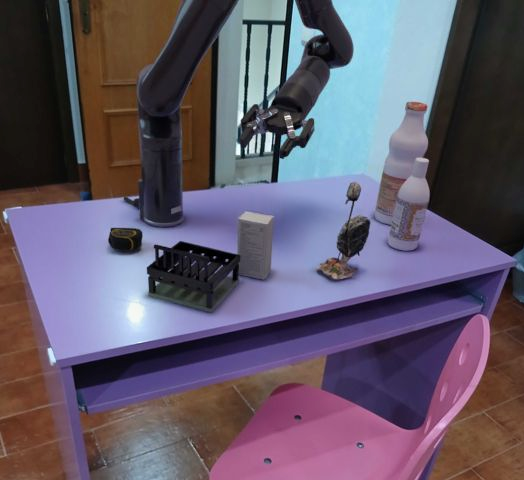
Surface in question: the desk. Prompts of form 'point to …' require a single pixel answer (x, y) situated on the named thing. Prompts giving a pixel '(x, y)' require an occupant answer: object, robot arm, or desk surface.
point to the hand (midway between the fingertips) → (261, 149)
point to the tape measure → (125, 239)
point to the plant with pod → (348, 240)
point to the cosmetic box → (255, 244)
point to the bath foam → (410, 209)
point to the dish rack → (192, 275)
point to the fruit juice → (401, 159)
